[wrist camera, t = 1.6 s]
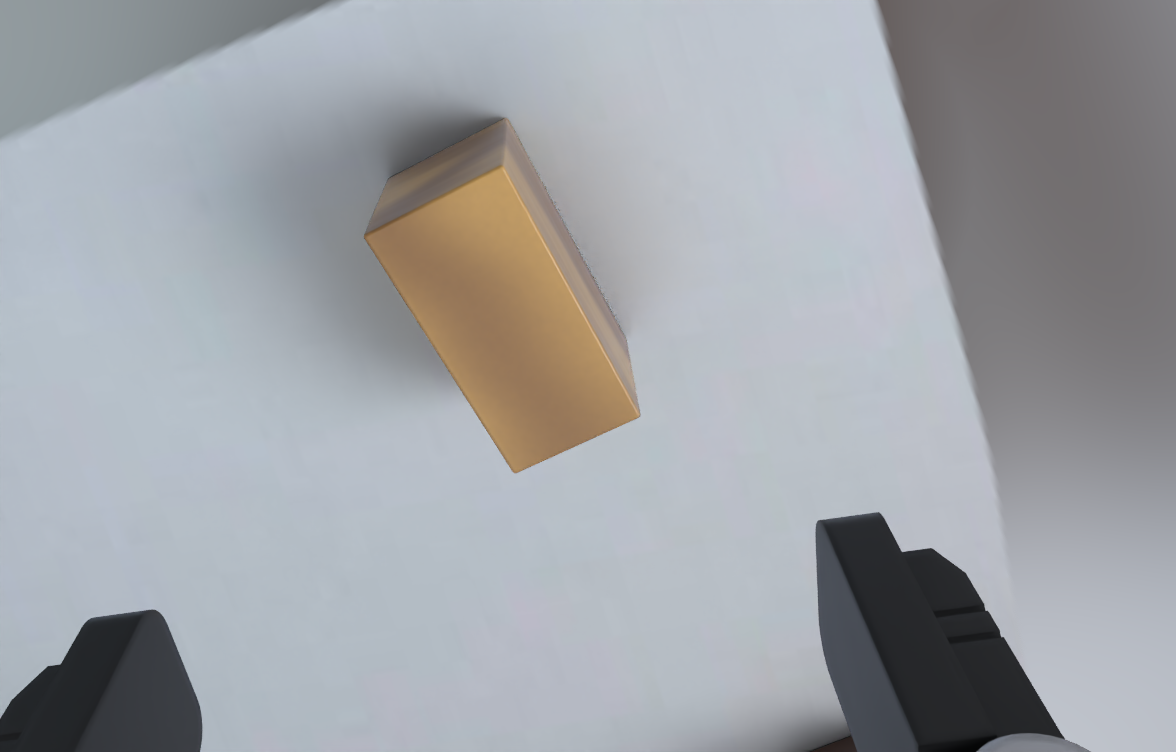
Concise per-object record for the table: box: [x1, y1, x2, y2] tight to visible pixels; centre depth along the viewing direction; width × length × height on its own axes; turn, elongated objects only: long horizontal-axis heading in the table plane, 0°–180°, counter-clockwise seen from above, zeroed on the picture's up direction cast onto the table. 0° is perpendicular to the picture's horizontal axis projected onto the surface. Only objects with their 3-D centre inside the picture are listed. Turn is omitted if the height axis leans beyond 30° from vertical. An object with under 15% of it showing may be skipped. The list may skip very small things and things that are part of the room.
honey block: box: [364, 118, 640, 473], centre depth 30 cm, size 4×8×5 cm, turn 27°
